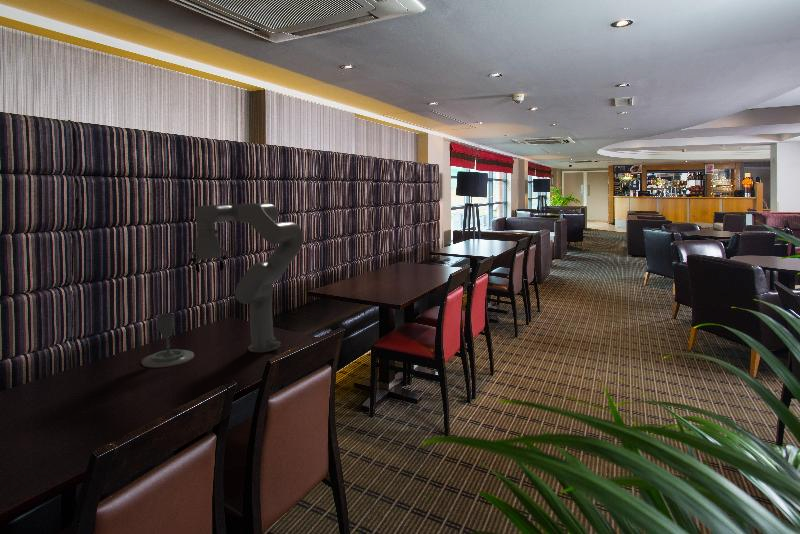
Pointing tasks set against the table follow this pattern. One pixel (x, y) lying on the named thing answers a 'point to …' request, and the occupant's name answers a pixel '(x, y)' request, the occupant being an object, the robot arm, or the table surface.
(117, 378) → the table surface
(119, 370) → the table surface
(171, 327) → the chalice
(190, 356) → the plate
